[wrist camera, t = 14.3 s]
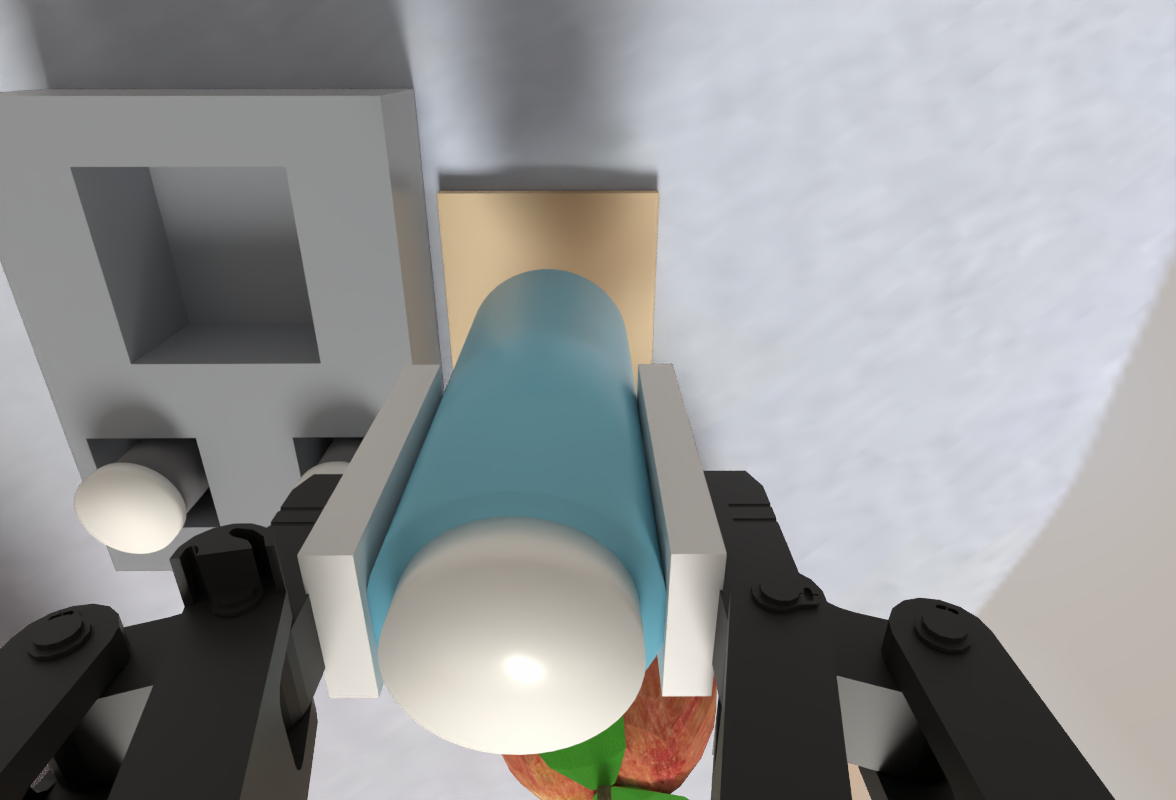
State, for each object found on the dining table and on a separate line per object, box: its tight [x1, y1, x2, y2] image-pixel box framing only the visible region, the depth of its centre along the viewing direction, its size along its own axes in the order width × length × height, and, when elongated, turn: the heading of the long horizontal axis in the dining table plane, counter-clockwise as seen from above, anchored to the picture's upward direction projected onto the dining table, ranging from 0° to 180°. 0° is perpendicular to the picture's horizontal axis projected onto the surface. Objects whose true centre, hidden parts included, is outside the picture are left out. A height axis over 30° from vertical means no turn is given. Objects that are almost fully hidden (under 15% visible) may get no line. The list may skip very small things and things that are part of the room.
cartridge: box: [367, 269, 666, 755], centre depth 15 cm, size 4×4×12 cm
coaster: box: [437, 190, 659, 393], centre depth 24 cm, size 7×7×1 cm
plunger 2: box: [295, 437, 364, 487], centre depth 23 cm, size 3×3×4 cm
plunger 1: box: [74, 438, 209, 554], centre depth 23 cm, size 3×3×4 cm
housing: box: [0, 89, 444, 571], centre depth 23 cm, size 11×15×4 cm
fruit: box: [502, 655, 717, 800], centre depth 26 cm, size 9×10×10 cm
